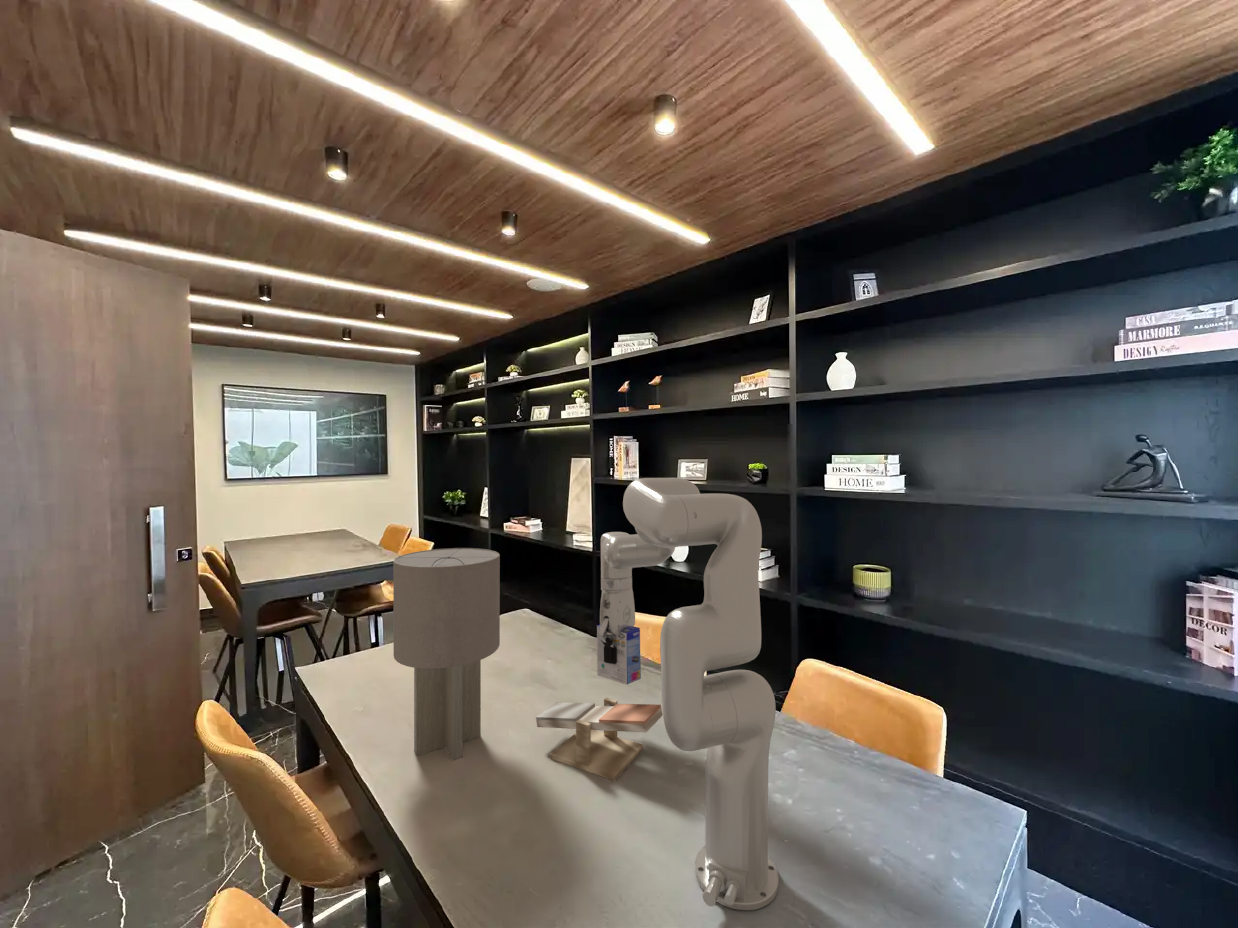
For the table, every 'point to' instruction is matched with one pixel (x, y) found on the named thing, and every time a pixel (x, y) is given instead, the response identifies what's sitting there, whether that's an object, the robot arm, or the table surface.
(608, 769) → the stand
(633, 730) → the beam
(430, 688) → the lamp
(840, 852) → the table surface
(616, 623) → the robot arm
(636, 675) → the ink cartridge box
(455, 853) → the table surface
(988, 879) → the table surface
